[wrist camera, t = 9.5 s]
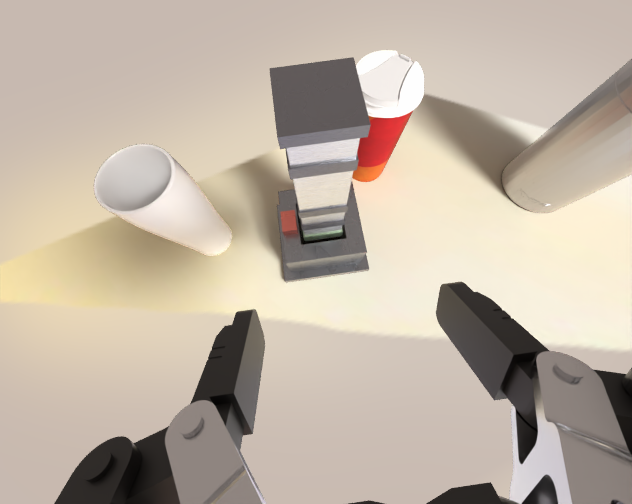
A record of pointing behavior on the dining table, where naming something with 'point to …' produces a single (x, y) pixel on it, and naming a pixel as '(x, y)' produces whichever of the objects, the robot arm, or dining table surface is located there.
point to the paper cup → (386, 106)
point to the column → (320, 138)
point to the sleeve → (320, 244)
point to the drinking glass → (160, 199)
